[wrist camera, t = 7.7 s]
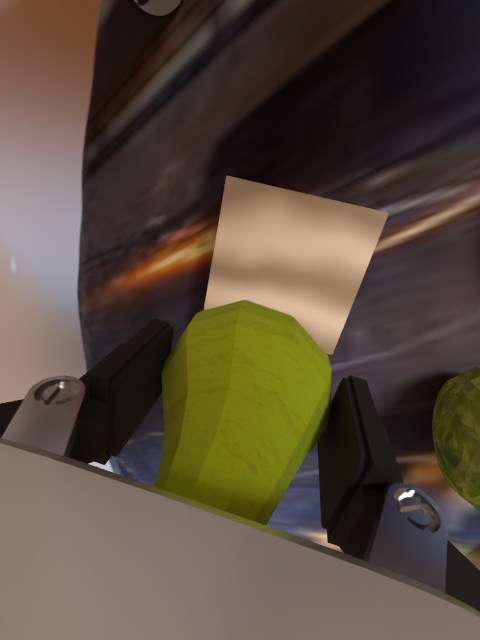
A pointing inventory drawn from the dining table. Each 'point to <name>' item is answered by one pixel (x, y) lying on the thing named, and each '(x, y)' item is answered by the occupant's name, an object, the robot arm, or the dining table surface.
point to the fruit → (241, 408)
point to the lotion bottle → (157, 6)
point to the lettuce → (459, 434)
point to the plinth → (292, 254)
